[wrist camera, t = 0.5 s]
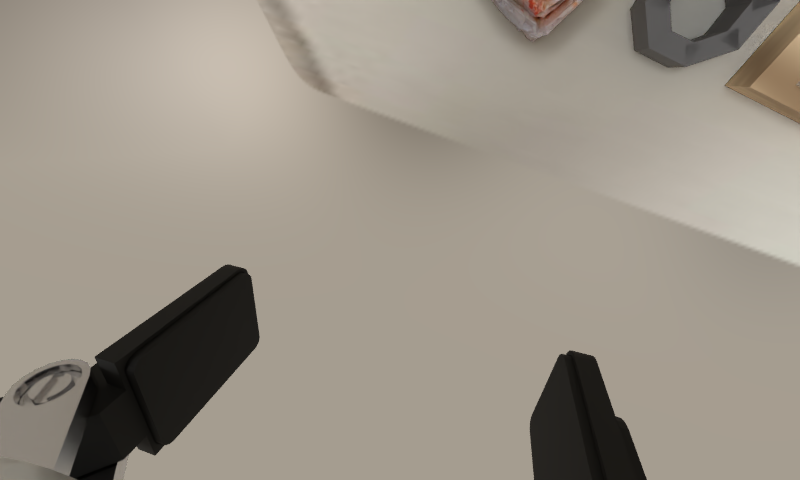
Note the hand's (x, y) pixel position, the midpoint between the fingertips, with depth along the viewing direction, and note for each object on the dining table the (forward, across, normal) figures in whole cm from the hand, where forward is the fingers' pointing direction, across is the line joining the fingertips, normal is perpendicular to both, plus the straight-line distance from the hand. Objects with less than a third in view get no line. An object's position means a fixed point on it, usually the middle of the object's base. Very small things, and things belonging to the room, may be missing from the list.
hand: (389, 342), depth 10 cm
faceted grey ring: (+28, -14, -13) cm, 34 cm away
